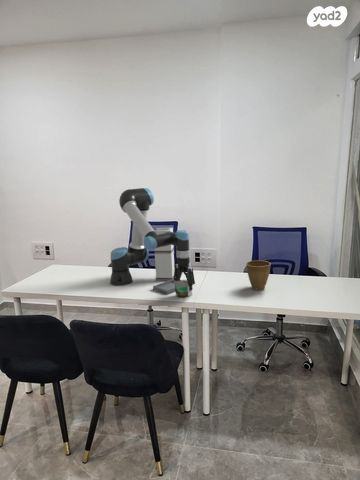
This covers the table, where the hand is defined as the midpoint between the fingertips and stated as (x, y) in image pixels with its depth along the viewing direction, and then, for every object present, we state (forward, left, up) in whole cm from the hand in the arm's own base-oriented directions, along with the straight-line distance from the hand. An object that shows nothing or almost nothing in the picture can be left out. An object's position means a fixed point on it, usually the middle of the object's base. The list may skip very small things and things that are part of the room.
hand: (184, 293), depth 205 cm
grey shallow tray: (-17, +4, -2) cm, 17 cm away
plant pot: (+25, +40, -2) cm, 47 cm away
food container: (0, 0, -2) cm, 2 cm away
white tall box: (-35, +16, -2) cm, 38 cm away
